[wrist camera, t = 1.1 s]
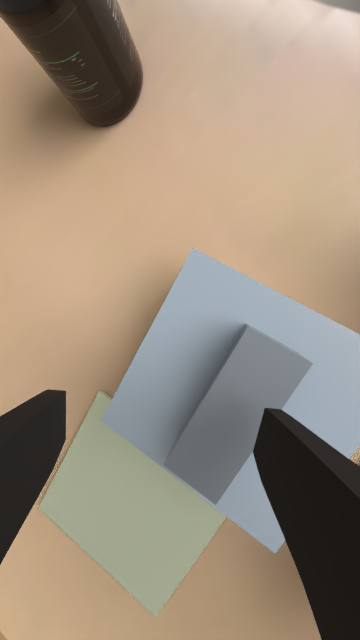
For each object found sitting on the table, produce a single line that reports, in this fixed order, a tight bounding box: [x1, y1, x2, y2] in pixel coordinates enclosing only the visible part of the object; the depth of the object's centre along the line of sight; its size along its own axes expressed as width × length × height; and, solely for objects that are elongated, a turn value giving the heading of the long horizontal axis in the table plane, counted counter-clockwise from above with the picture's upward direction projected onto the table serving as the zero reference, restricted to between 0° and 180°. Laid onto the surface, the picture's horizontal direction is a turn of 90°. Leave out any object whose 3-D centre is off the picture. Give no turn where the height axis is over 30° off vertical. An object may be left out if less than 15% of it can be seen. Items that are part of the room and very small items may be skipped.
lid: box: [101, 248, 360, 554], centre depth 13 cm, size 12×12×5 cm
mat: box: [38, 390, 226, 617], centre depth 22 cm, size 15×15×1 cm
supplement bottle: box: [0, 0, 143, 125], centre depth 15 cm, size 7×7×12 cm
